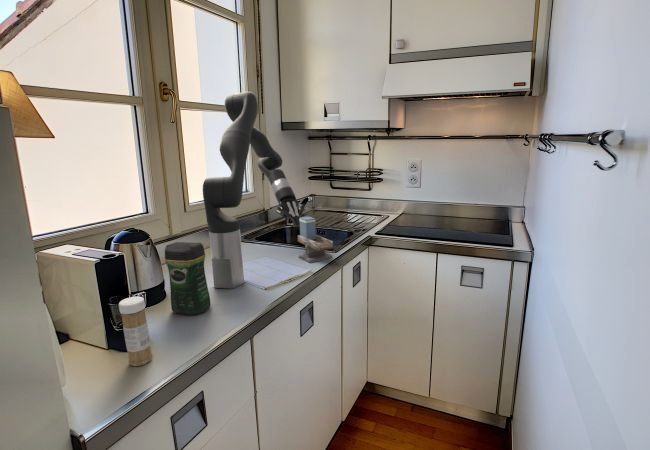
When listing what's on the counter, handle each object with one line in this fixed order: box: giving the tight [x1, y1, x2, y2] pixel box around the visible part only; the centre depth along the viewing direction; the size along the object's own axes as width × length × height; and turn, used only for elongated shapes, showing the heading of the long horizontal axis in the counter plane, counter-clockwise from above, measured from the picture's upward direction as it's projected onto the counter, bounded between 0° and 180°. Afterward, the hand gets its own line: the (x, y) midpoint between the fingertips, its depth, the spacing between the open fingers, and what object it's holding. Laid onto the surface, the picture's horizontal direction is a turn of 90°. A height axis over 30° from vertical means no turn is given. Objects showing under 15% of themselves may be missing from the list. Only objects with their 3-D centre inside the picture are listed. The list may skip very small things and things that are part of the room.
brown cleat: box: [297, 234, 334, 264], centre depth 141 cm, size 16×10×8 cm, turn 32°
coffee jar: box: [164, 241, 212, 316], centre depth 99 cm, size 10×8×19 cm
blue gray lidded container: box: [299, 216, 317, 240], centre depth 144 cm, size 5×4×8 cm
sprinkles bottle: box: [118, 296, 153, 367], centre depth 77 cm, size 5×5×13 cm
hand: (298, 225), depth 150 cm, fingers closed
